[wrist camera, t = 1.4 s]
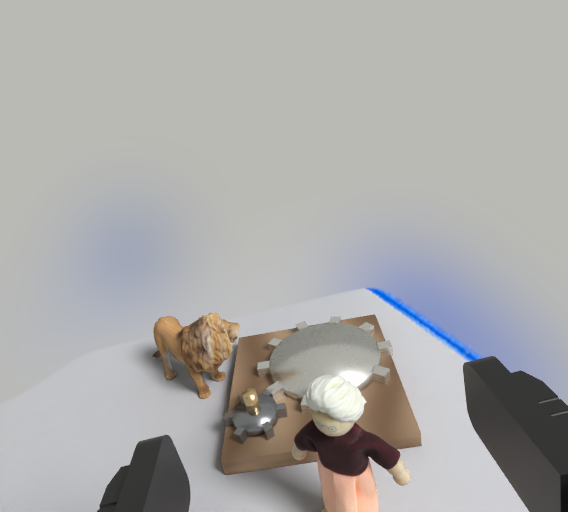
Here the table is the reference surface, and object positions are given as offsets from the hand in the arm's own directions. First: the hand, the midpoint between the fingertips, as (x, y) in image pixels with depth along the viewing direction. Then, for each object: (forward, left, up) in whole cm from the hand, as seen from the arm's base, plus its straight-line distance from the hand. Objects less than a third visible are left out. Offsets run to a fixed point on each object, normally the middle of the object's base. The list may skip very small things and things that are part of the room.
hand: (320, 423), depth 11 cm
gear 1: (-7, +20, -19) cm, 28 cm away
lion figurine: (-14, +29, -20) cm, 38 cm away
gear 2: (0, +26, -19) cm, 32 cm away
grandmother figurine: (0, +10, -20) cm, 23 cm away
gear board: (-2, +24, -20) cm, 32 cm away
